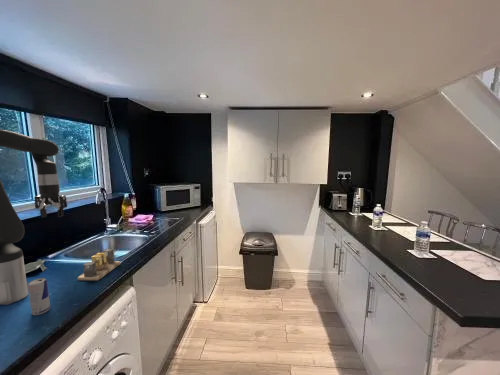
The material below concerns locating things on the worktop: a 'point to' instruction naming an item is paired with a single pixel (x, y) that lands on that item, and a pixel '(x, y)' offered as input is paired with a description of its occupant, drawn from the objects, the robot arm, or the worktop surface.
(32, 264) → the metal bracket
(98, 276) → the coupling base
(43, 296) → the energy drink
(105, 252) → the shafts
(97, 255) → the slotted brass block
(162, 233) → the worktop surface
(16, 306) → the worktop surface
